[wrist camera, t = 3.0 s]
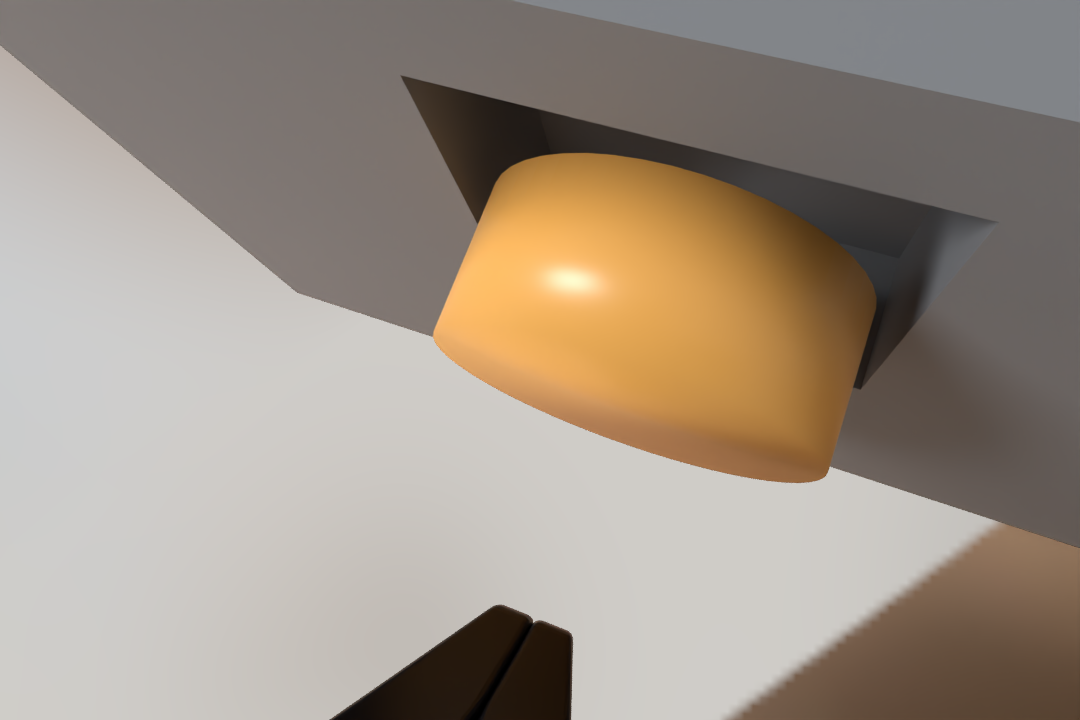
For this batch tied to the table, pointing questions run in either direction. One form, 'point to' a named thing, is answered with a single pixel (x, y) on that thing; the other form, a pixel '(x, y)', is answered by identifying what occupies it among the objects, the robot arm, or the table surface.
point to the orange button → (663, 313)
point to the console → (660, 136)
